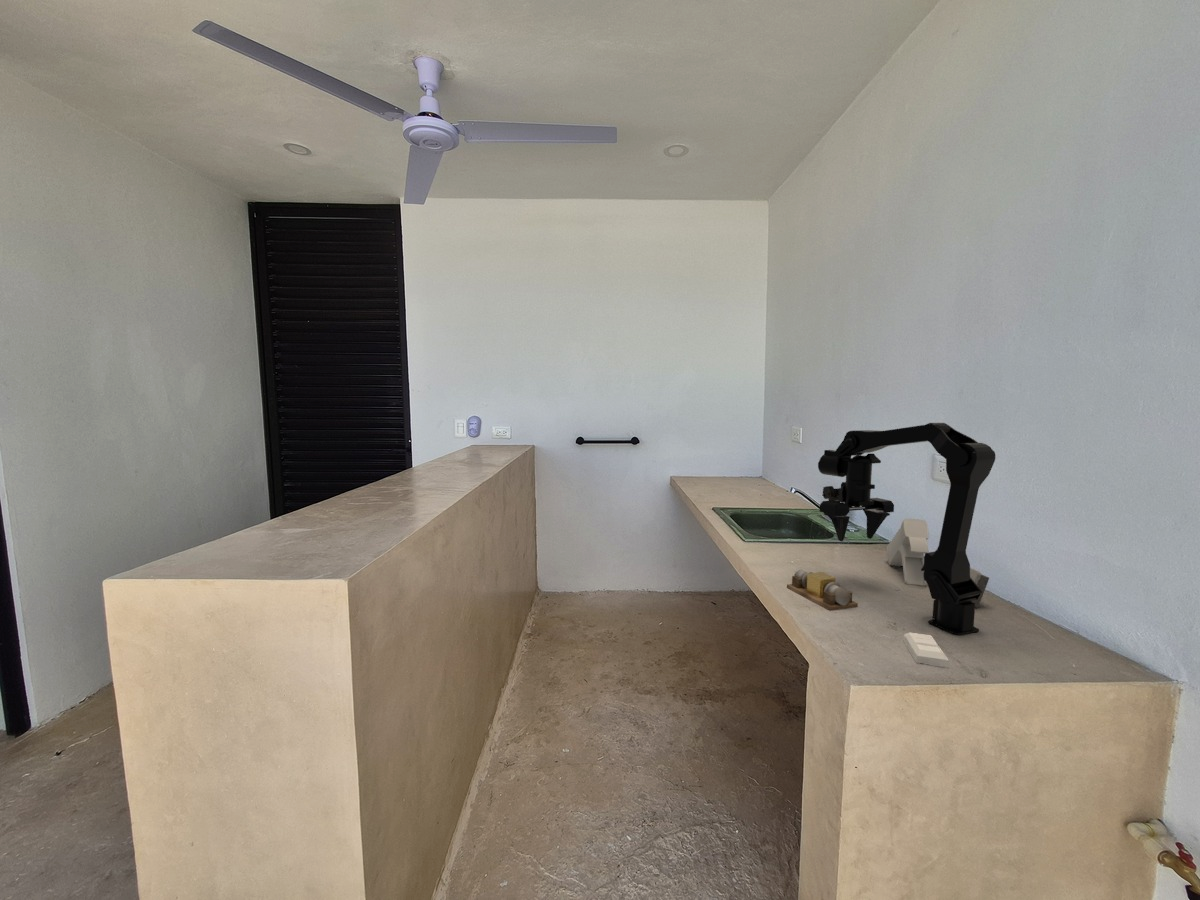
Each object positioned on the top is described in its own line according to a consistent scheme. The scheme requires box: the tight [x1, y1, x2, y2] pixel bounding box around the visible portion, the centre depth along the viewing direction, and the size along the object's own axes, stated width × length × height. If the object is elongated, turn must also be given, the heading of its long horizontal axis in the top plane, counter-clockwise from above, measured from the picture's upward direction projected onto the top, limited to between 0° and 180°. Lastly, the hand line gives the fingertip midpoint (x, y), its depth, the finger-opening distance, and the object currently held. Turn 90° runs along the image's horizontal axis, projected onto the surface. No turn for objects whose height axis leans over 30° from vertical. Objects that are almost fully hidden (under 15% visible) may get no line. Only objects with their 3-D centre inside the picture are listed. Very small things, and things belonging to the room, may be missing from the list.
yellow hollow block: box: [807, 571, 837, 598], centre depth 119 cm, size 5×4×4 cm
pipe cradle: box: [786, 569, 858, 611], centre depth 119 cm, size 15×8×5 cm, turn 17°
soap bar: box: [903, 631, 950, 669], centre depth 92 cm, size 5×9×3 cm, turn 161°
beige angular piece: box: [886, 518, 930, 587], centre depth 135 cm, size 6×16×20 cm
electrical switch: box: [970, 567, 990, 609], centre depth 117 cm, size 9×5×9 cm, turn 0°
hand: (855, 539), depth 124 cm, fingers open, 9 cm apart
